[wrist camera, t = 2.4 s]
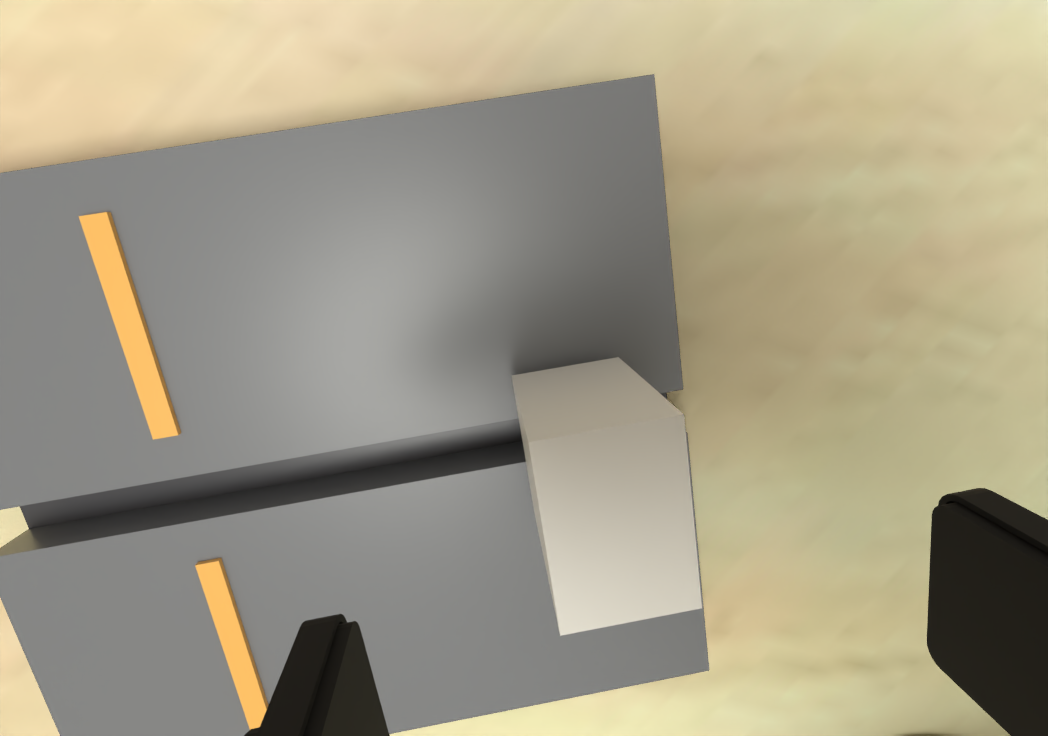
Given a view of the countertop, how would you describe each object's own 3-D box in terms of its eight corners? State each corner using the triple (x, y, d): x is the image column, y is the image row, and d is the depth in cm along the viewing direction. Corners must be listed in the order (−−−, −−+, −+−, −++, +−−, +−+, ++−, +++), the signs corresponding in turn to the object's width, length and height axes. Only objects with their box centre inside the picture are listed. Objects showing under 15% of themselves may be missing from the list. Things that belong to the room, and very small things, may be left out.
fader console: (628, 96, 20) (656, 72, 17) (682, 620, 25) (711, 674, 22) (-75, 204, 19) (-181, 198, 16) (132, 727, 24) (81, 799, 21)
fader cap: (603, 344, 21) (683, 414, 13) (619, 471, 22) (701, 608, 14) (507, 360, 21) (528, 442, 13) (529, 487, 22) (560, 636, 14)
